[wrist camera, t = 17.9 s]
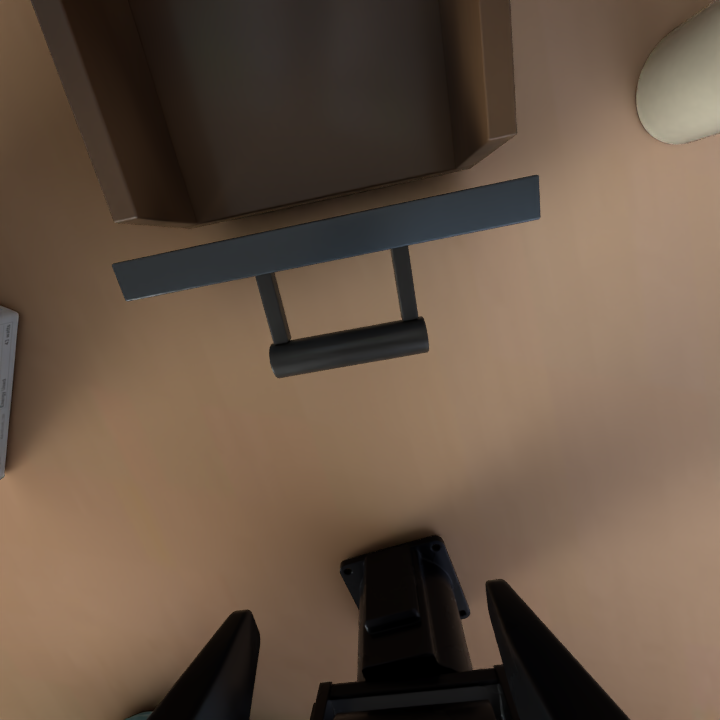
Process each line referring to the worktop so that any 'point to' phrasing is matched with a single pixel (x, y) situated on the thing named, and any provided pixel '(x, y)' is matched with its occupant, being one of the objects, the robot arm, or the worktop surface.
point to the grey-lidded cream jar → (683, 81)
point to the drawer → (291, 137)
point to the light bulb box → (6, 375)
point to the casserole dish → (140, 716)
